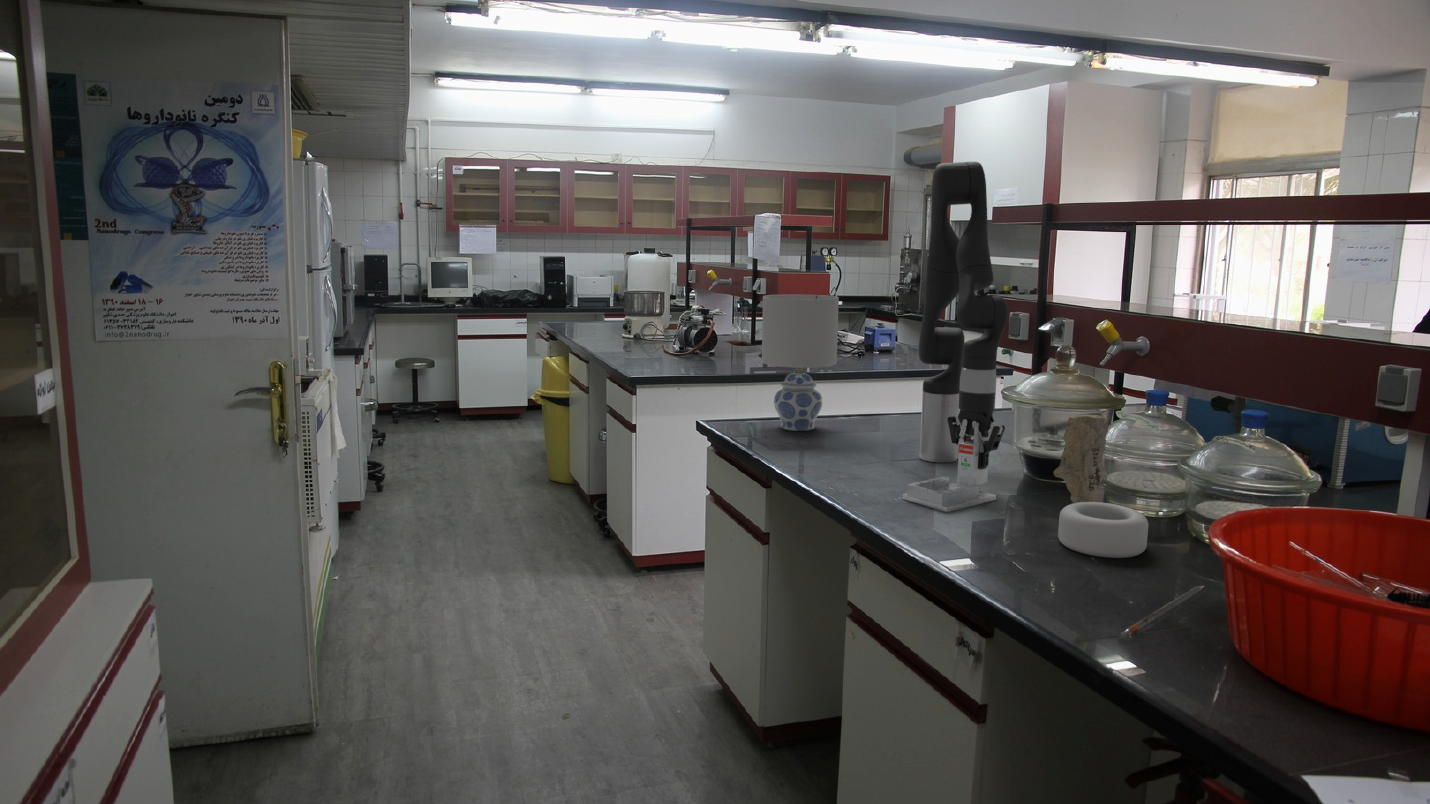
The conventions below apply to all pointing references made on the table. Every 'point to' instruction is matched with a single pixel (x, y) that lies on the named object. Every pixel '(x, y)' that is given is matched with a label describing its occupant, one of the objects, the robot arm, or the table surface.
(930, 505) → the bracket
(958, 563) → the table surface
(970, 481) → the ink box
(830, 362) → the lamp
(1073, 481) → the stone tool
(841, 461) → the table surface
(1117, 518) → the thick torus
